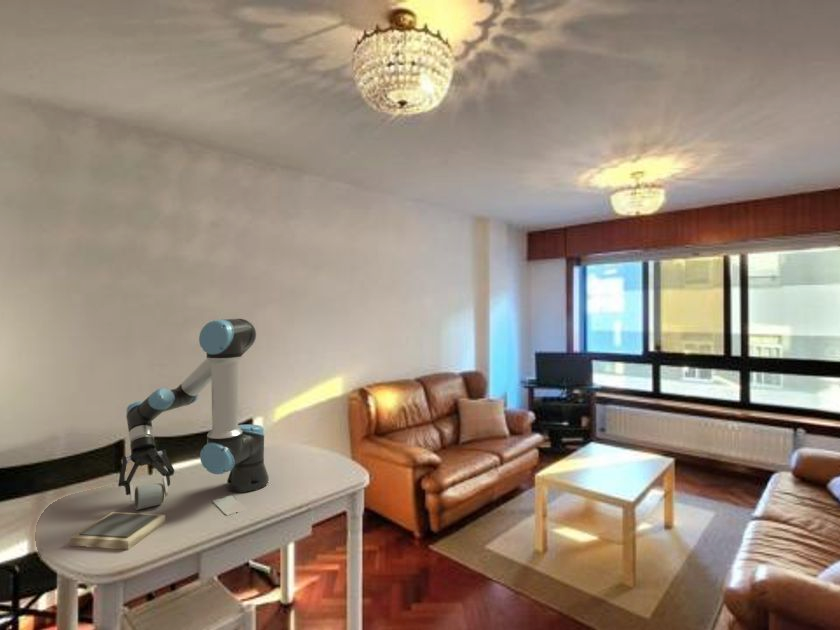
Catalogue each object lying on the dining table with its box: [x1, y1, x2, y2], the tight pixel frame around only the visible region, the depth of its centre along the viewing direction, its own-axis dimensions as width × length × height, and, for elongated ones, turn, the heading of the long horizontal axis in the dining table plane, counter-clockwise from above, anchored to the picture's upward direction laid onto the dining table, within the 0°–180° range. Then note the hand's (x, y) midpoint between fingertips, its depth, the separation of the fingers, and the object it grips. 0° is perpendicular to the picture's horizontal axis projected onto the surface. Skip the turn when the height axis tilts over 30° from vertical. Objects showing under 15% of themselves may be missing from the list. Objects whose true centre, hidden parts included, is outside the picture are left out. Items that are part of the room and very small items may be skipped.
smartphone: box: [211, 494, 238, 516], centre depth 157 cm, size 7×1×15 cm
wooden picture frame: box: [69, 511, 166, 551], centre depth 137 cm, size 18×16×3 cm
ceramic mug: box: [134, 483, 165, 511], centre depth 157 cm, size 11×8×8 cm
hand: (150, 498), depth 153 cm, fingers open, 9 cm apart
